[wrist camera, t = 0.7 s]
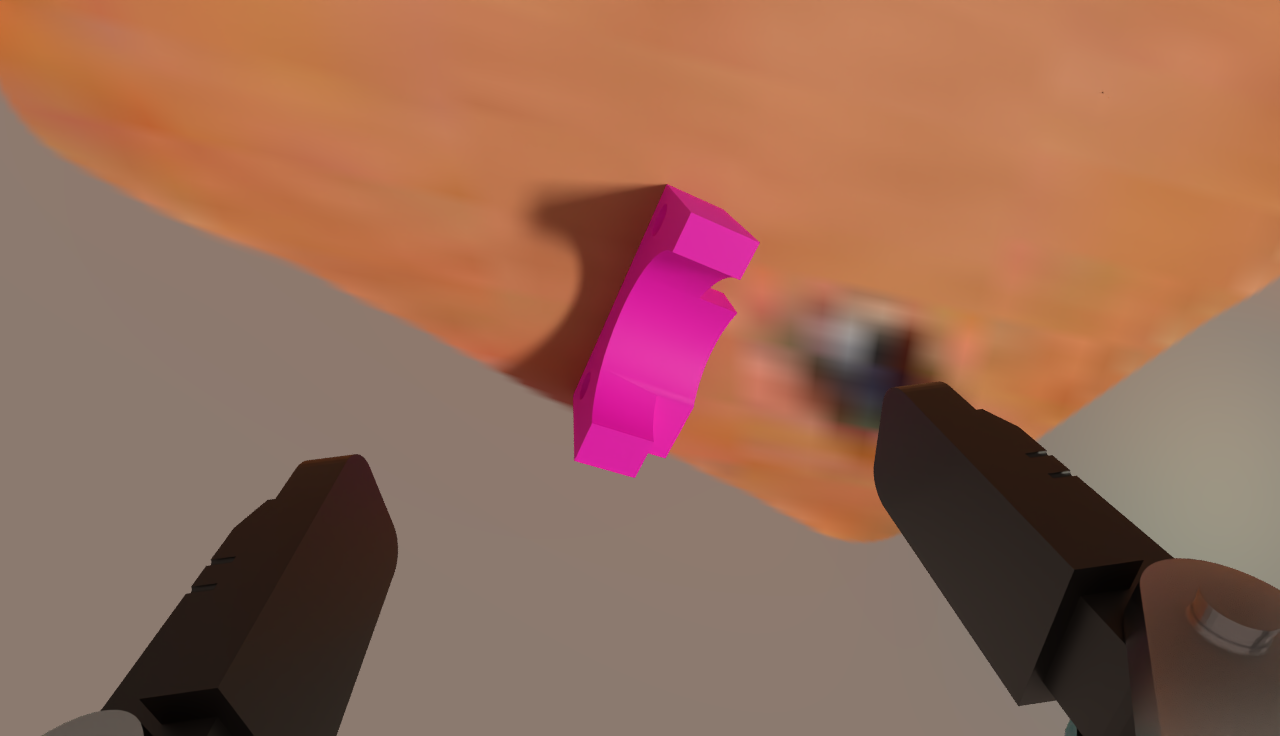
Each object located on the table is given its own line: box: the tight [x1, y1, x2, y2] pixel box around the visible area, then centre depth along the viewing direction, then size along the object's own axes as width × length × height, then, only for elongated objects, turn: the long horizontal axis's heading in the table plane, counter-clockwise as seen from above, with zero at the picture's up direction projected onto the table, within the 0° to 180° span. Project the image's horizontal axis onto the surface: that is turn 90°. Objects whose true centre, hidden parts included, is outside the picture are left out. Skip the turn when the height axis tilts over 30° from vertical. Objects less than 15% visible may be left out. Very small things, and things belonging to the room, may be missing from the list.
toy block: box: [573, 184, 760, 478], centre depth 33 cm, size 15×6×8 cm, turn 156°
